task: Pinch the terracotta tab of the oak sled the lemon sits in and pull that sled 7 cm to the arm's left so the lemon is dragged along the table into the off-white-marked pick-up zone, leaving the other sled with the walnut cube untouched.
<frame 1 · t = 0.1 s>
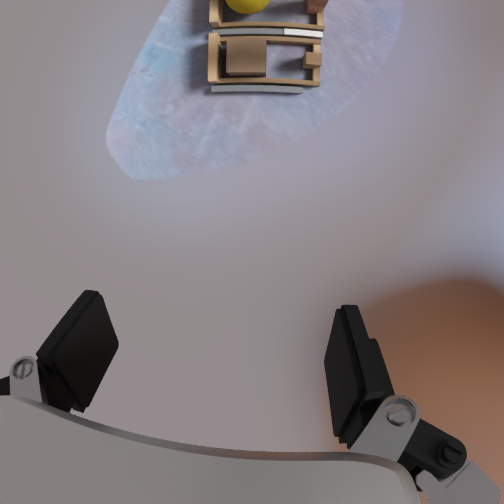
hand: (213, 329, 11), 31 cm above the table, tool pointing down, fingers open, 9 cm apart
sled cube: (266, 58, 30), point 2 cm above the table, slide at 0.0 cm
walnut cube: (248, 60, 32), resting in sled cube
lane rails: (267, 33, 29), on the table
lemon: (249, 4, 28), resting in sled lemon
rail right: (257, 89, 33), on the table
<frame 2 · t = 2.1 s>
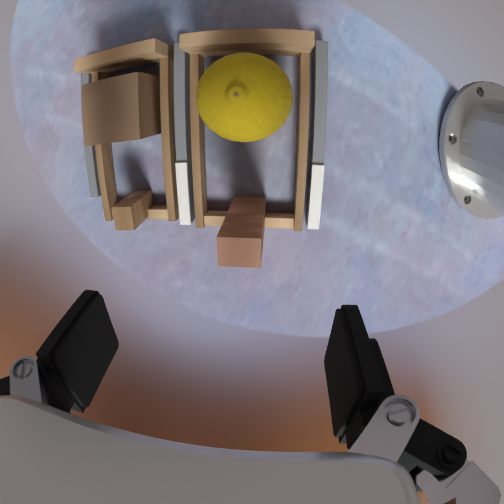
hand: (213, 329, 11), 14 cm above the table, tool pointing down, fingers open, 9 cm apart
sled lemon: (245, 137, 17), point 4 cm above the table, slide at 0.0 cm
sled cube: (126, 137, 19), point 2 cm above the table, slide at 0.0 cm
walnut cube: (137, 107, 19), resting in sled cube
lane rails: (186, 132, 20), on the table
lemon: (250, 99, 19), resting in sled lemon
rail right: (96, 127, 20), on the table
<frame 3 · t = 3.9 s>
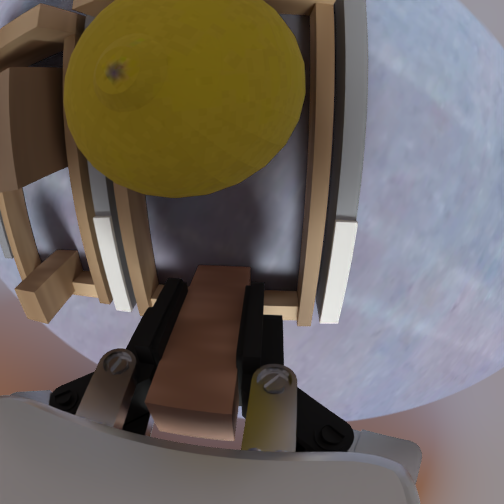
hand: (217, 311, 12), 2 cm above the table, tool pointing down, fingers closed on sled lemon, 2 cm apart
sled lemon: (198, 178, 8), point 4 cm above the table, slide at 0.0 cm, touching gripper
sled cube: (23, 177, 10), point 2 cm above the table, slide at 0.0 cm
walnut cube: (46, 122, 10), resting in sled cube
lane rails: (113, 159, 11), on the table
lemon: (220, 94, 10), resting in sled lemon
rail right: (3, 157, 11), on the table
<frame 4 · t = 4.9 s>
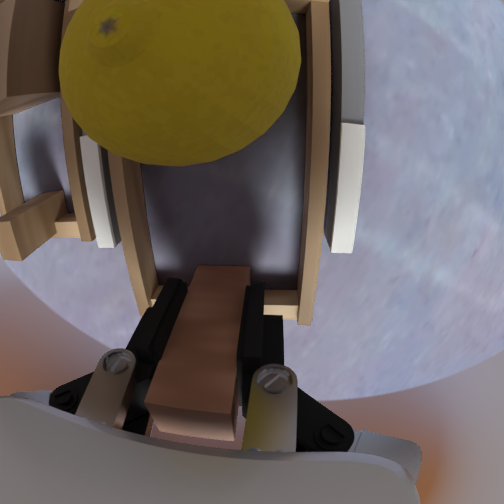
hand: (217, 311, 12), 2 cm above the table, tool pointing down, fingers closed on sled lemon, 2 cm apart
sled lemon: (195, 177, 8), point 4 cm above the table, slide at 3.5 cm, touching gripper
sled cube: (15, 106, 8), point 2 cm above the table, slide at 0.0 cm
walnut cube: (43, 61, 9), resting in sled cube
lane rails: (106, 84, 10), on the table
lemon: (218, 77, 10), resting in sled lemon
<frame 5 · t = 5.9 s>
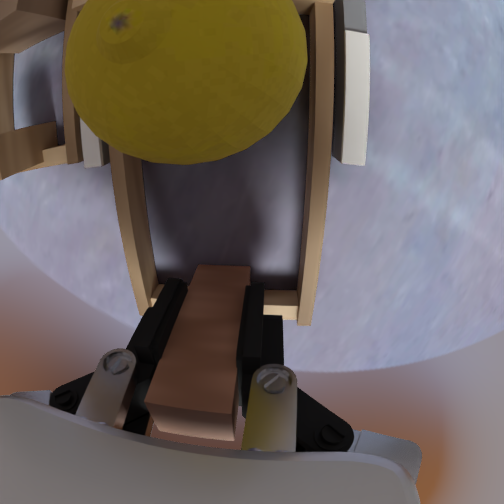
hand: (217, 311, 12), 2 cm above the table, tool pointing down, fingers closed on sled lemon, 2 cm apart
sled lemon: (197, 177, 8), point 4 cm above the table, slide at 6.9 cm, touching gripper, lemon
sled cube: (19, 35, 6), point 2 cm above the table, slide at 0.0 cm
walnut cube: (51, 3, 7), resting in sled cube
lane rails: (111, 14, 8), on the table
lemon: (221, 75, 10), resting in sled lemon
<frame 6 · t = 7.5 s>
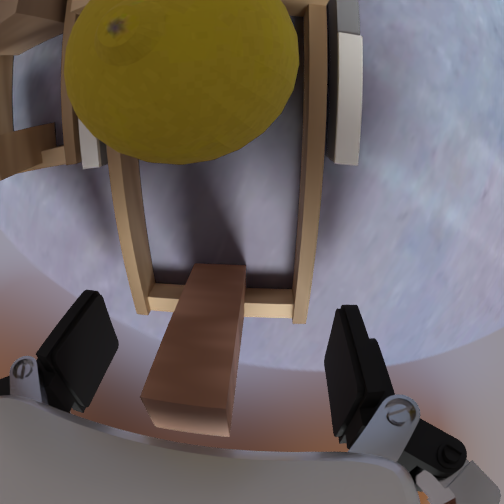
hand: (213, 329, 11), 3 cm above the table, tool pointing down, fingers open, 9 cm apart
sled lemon: (192, 176, 8), point 4 cm above the table, slide at 6.9 cm
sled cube: (18, 38, 6), point 2 cm above the table, slide at 0.0 cm
walnut cube: (50, 6, 7), resting in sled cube
lane rails: (109, 17, 8), on the table
lemon: (217, 78, 10), resting in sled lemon
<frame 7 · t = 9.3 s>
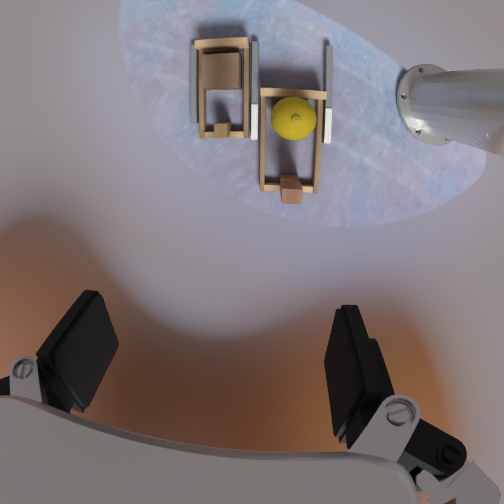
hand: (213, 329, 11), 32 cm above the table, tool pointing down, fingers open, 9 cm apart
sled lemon: (292, 143, 34), point 4 cm above the table, slide at 6.9 cm
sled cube: (222, 88, 33), point 2 cm above the table, slide at 0.0 cm
walnut cube: (225, 74, 34), resting in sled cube
lane rails: (255, 89, 34), on the table
lemon: (291, 117, 36), resting in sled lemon
rail right: (195, 83, 34), on the table
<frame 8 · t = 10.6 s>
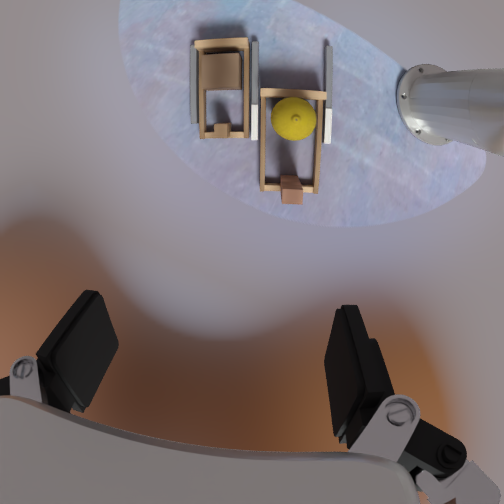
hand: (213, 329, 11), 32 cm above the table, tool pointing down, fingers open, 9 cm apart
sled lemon: (292, 143, 34), point 4 cm above the table, slide at 6.9 cm
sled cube: (222, 88, 33), point 2 cm above the table, slide at 0.0 cm
walnut cube: (225, 74, 34), resting in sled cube
lane rails: (255, 90, 34), on the table
lemon: (291, 117, 36), resting in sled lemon
rail right: (195, 84, 34), on the table
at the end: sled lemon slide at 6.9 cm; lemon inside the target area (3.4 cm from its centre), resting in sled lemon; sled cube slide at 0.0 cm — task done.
